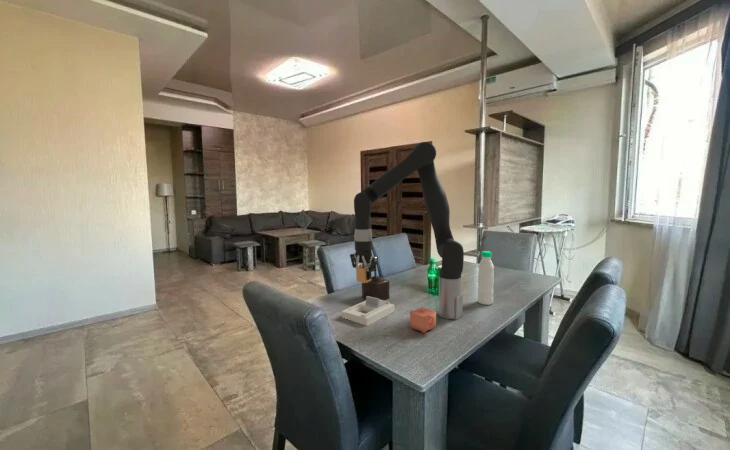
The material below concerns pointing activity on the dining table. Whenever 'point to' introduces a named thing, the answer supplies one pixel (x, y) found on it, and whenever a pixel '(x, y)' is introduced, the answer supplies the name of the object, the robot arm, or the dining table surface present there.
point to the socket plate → (367, 312)
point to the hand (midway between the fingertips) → (363, 278)
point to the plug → (361, 274)
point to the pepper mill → (376, 287)
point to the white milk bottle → (485, 279)
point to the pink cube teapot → (423, 319)
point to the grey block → (374, 302)
